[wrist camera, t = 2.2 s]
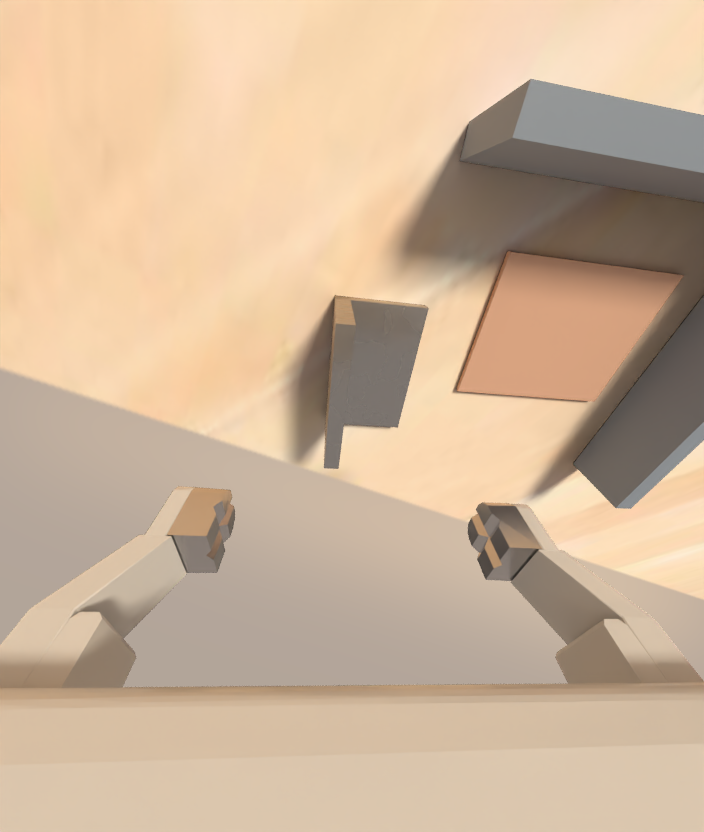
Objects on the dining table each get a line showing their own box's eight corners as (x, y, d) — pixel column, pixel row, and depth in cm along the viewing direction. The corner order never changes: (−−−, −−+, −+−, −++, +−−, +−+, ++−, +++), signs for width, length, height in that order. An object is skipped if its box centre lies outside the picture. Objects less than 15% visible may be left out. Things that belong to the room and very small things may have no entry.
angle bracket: (395, 420, 20) (411, 471, 16) (325, 416, 20) (323, 468, 16) (424, 304, 16) (456, 335, 12) (334, 294, 15) (335, 323, 11)
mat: (456, 388, 19) (457, 391, 19) (507, 251, 14) (510, 252, 14) (591, 399, 20) (594, 401, 20) (678, 274, 15) (684, 275, 15)
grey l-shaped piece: (386, 455, 22) (396, 501, 18) (469, 121, 12) (531, 78, 8) (585, 464, 24) (630, 508, 20) (812, 186, 13) (987, 174, 10)
